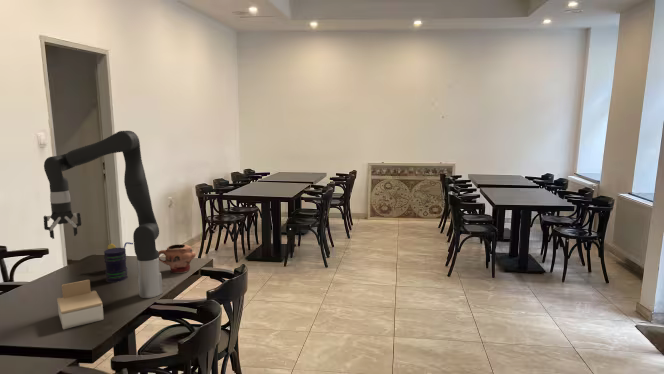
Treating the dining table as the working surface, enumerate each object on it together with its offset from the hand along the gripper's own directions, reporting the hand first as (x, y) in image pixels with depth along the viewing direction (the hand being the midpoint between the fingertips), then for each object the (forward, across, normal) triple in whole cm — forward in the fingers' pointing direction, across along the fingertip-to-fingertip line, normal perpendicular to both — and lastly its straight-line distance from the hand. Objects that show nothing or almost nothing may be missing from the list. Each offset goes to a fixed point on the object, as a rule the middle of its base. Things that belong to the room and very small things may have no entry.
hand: (64, 237), depth 194 cm
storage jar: (+28, +22, +12) cm, 38 cm away
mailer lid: (+22, +1, -28) cm, 35 cm away
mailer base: (+28, +1, -28) cm, 40 cm away
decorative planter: (+28, +50, +5) cm, 57 cm away
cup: (+28, +27, +27) cm, 47 cm away
